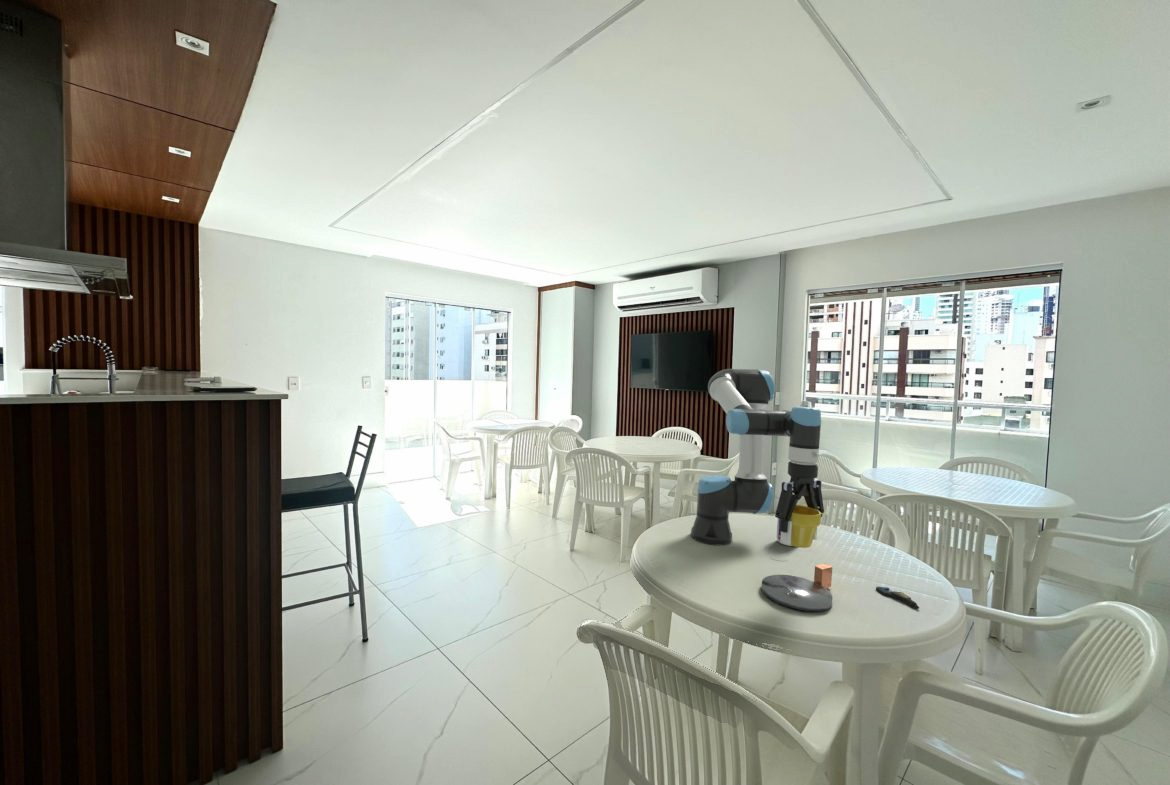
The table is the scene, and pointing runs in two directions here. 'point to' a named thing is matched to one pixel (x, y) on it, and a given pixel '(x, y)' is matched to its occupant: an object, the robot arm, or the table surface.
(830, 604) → the grey round piece
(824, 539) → the table surface
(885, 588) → the micrometer
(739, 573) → the table surface
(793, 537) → the plant pot
